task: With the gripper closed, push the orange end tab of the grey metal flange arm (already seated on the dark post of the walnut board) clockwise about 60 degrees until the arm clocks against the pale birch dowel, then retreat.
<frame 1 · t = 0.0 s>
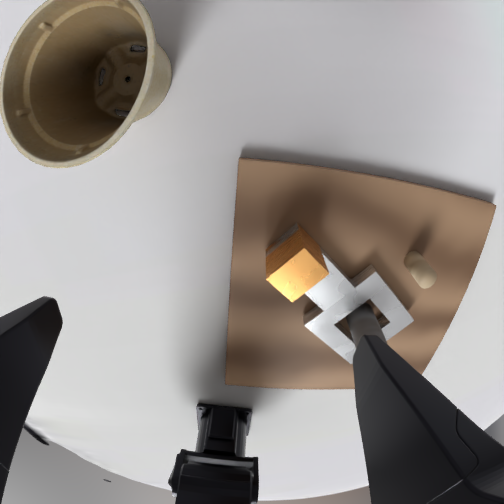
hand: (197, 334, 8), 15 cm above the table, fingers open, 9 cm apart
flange: (343, 308, 22), point 3 cm above the table, hinge at 60.0°
flower pot: (133, 79, 18), on the table
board: (358, 303, 25), on the table
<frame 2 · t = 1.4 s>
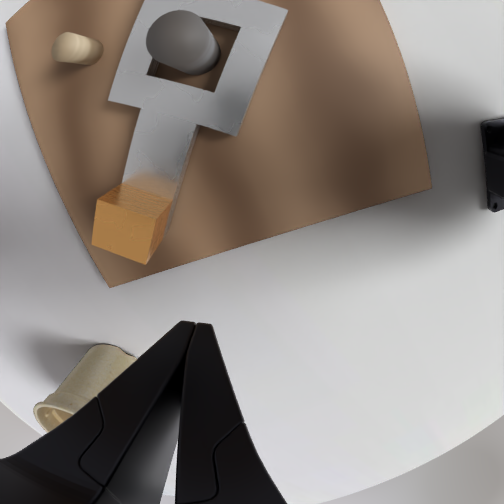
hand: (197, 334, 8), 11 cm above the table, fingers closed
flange: (164, 110, 12), point 3 cm above the table, hinge at 60.0°
flower pot: (117, 364, 25), on the table
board: (192, 60, 14), on the table
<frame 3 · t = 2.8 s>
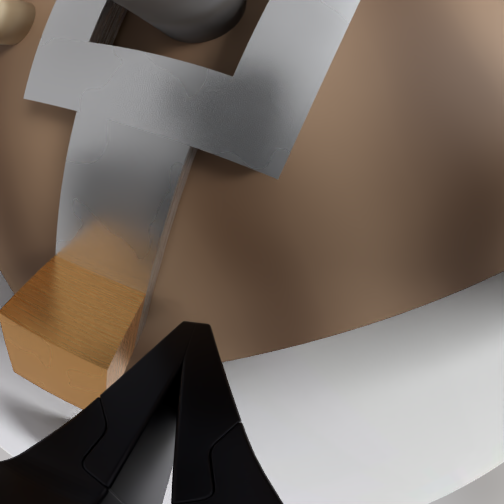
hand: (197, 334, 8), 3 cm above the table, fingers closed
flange: (116, 117, 5), point 3 cm above the table, hinge at 58.1°, touching gripper
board: (188, 18, 6), on the table
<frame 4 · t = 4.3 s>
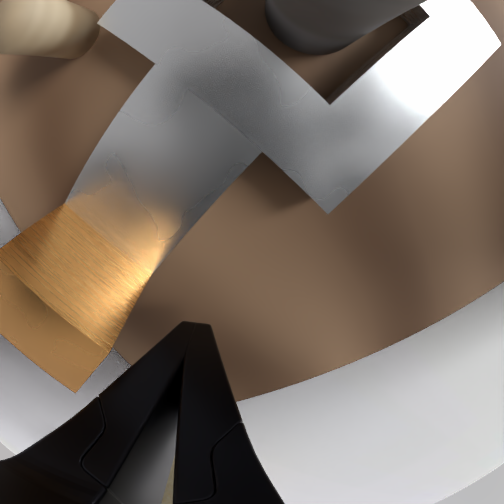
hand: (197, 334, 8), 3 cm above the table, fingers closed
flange: (209, 94, 5), point 3 cm above the table, hinge at 28.0°, touching gripper
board: (293, 27, 6), on the table
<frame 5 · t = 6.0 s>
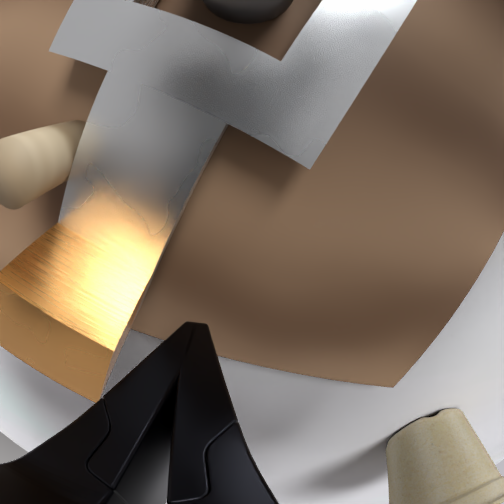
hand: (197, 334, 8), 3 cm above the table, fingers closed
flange: (157, 80, 5), point 3 cm above the table, hinge at -0.1°, touching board, gripper
flower pot: (422, 429, 16), on the table
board: (242, 9, 6), on the table
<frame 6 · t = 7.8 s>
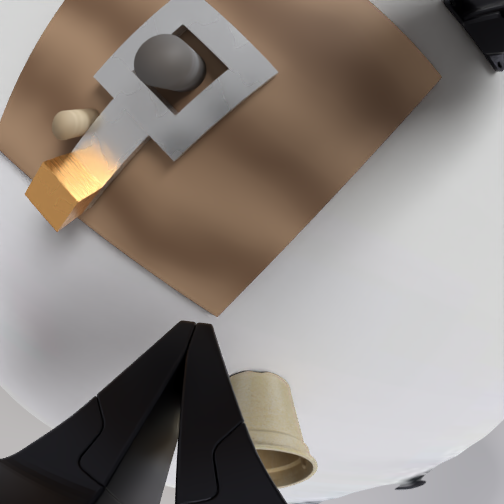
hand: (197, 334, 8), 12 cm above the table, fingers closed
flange: (127, 112, 13), point 3 cm above the table, hinge at 0.0°, touching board
flower pot: (254, 388, 26), on the table
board: (182, 80, 15), on the table
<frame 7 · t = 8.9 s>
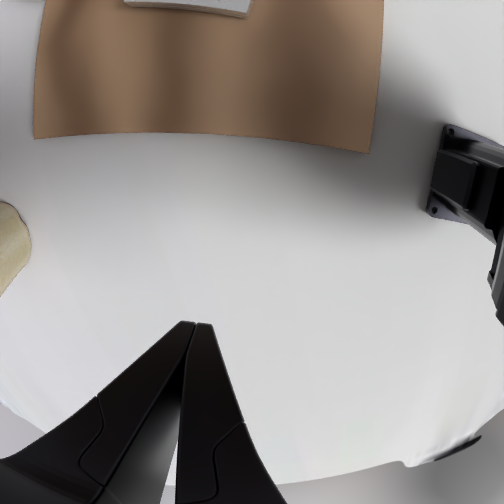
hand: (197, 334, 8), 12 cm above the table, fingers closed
flower pot: (10, 232, 20), on the table
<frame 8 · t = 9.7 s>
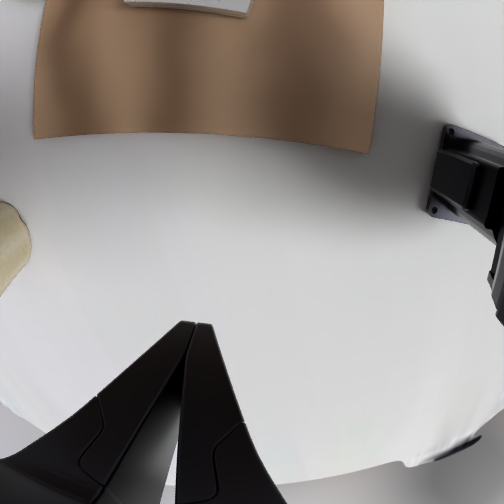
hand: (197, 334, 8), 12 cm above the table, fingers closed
flower pot: (10, 232, 20), on the table
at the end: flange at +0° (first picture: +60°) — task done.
